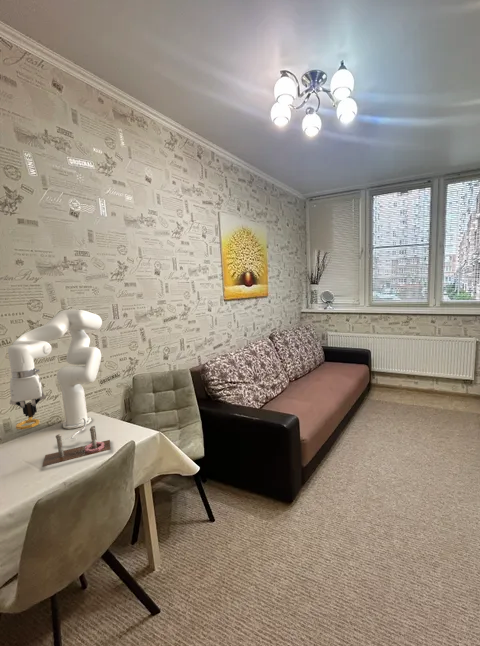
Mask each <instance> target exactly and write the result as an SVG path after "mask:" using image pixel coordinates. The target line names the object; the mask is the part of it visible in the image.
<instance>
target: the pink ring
mask: <svg viewBox="0 0 480 646" xmlns="http://www.w3.org/2000/svg"><path fill="white" fill-rule="evenodd" d="M91 427H94V428H95V429H96V426H95V425H93V426H91ZM95 437H96V445H101V446H100V447H98V448H96V449H92V450H91V449H88V448H90V447H91V446H92V442H91V443H89V444H86V445H87V446H86V447H85V452H88V453H92V452H96V451H99V450H101V449H102V448H104V443H103V442H102V441H97V432H96V430H95Z"/></svg>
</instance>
